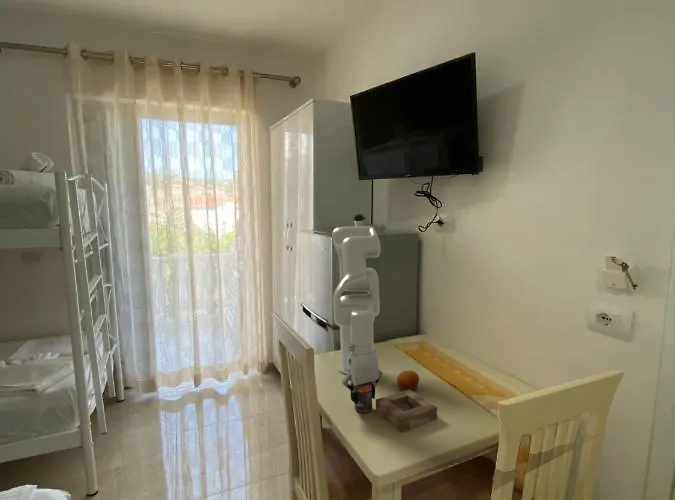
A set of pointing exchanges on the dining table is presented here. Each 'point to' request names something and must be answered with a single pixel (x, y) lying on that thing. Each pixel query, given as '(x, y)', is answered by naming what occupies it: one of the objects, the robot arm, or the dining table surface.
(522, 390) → the dining table surface
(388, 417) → the socket block
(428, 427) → the dining table surface
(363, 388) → the supplement bottle
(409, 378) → the fruit
